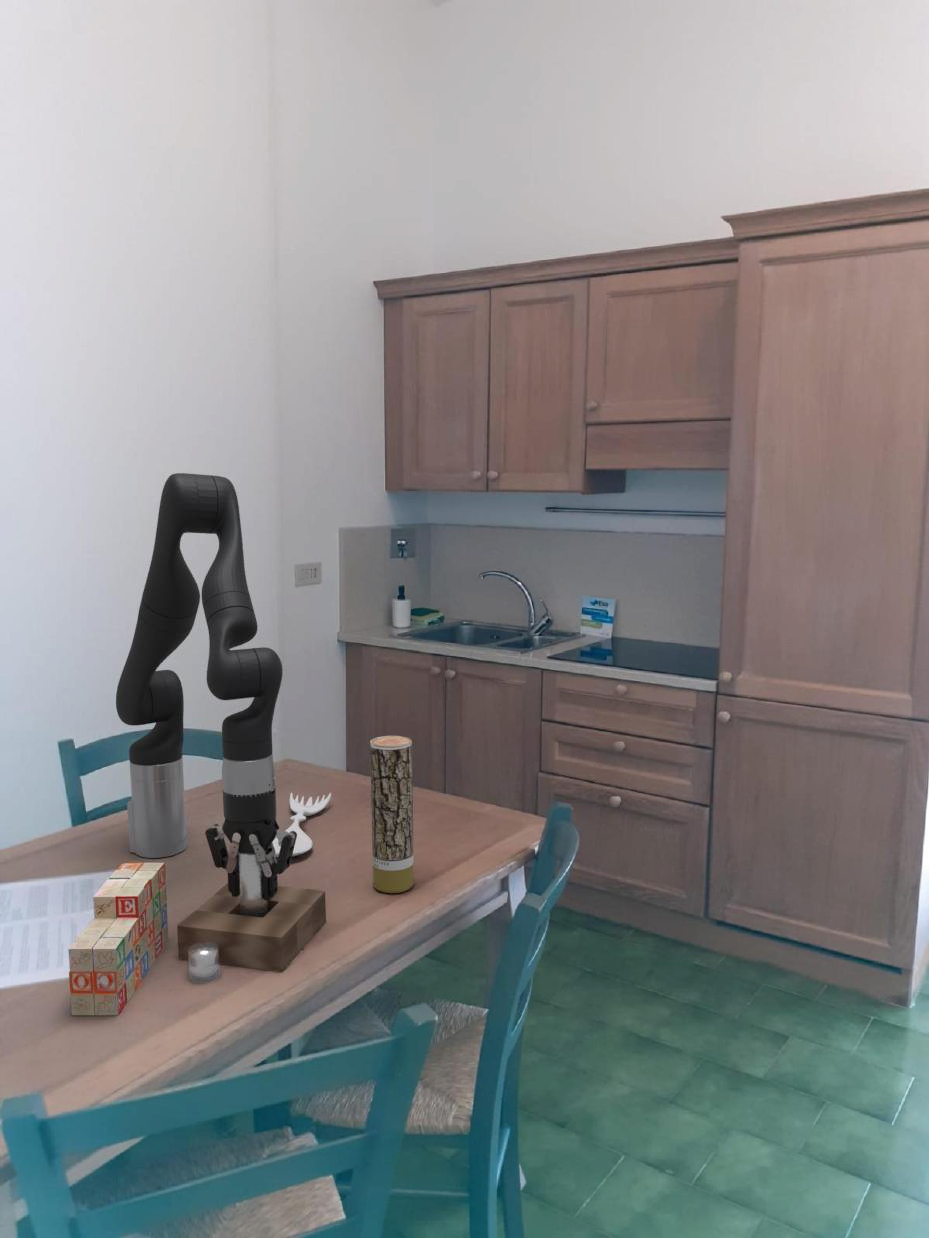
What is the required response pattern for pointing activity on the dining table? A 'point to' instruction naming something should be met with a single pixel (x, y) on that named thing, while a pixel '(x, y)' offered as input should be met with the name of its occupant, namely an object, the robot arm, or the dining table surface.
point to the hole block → (255, 928)
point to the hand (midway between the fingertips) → (253, 895)
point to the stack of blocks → (119, 939)
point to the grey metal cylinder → (204, 962)
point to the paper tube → (392, 813)
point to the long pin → (251, 886)
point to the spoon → (301, 811)
